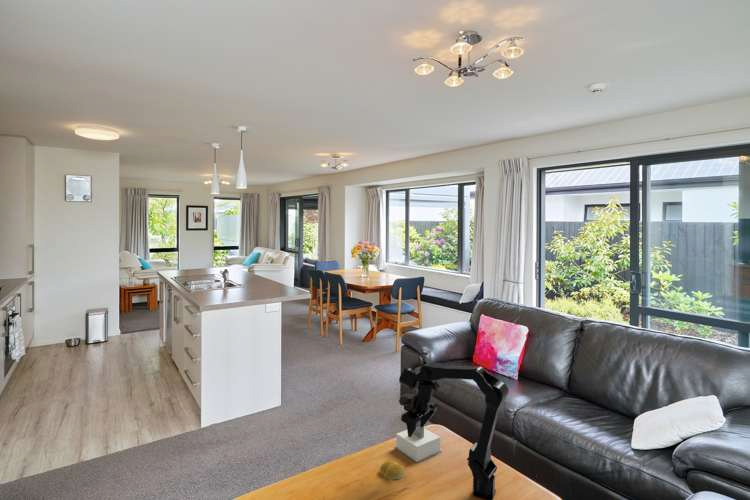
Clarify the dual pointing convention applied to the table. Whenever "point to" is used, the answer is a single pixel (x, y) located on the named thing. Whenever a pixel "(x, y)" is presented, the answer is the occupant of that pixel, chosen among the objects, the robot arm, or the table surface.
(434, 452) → the cover
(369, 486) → the table surface
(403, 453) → the mat
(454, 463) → the table surface
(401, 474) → the bread roll
